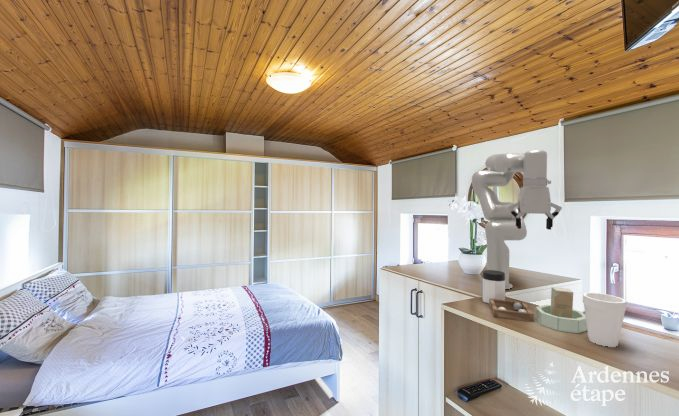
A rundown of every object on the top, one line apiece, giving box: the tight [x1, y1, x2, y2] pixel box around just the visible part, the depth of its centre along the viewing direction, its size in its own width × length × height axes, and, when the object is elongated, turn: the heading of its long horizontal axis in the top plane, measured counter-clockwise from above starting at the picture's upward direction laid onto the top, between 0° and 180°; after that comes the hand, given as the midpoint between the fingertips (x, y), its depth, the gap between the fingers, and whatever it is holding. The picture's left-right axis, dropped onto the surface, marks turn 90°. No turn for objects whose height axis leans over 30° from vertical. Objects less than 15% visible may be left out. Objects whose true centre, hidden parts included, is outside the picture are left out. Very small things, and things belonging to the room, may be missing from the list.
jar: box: [481, 269, 506, 304], centre depth 122 cm, size 9×8×12 cm
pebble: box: [513, 301, 523, 311], centre depth 112 cm, size 3×3×3 cm
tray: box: [488, 299, 535, 322], centre depth 110 cm, size 13×12×2 cm
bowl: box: [535, 304, 588, 334], centre depth 100 cm, size 13×13×4 cm
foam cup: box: [582, 292, 627, 348], centre depth 87 cm, size 10×9×13 cm
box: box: [550, 286, 574, 318], centre depth 100 cm, size 5×4×11 cm
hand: (533, 228), depth 114 cm, fingers open, 9 cm apart
